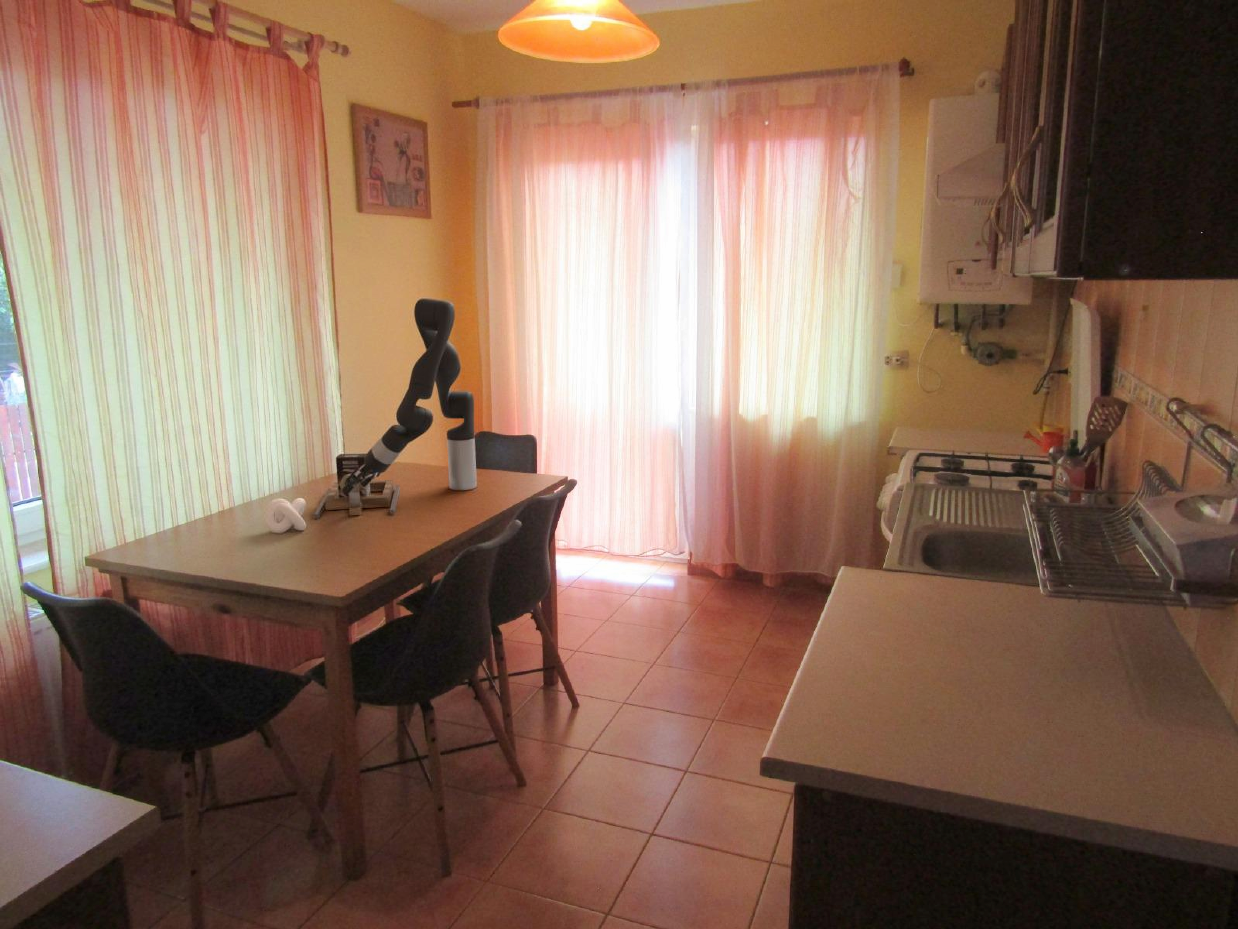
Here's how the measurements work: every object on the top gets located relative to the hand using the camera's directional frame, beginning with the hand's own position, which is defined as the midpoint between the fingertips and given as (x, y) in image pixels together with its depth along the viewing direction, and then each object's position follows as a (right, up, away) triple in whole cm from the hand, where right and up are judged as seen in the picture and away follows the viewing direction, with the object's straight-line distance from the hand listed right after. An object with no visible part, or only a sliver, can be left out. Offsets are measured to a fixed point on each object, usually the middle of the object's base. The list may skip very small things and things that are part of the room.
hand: (353, 488), depth 264 cm
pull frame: (-2, -5, +14) cm, 15 cm away
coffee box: (-3, -6, +13) cm, 14 cm away
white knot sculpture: (-15, -12, -15) cm, 24 cm away
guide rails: (-2, -5, +14) cm, 15 cm away
